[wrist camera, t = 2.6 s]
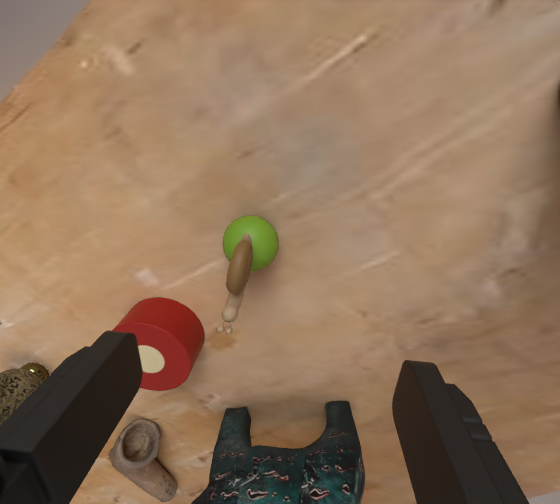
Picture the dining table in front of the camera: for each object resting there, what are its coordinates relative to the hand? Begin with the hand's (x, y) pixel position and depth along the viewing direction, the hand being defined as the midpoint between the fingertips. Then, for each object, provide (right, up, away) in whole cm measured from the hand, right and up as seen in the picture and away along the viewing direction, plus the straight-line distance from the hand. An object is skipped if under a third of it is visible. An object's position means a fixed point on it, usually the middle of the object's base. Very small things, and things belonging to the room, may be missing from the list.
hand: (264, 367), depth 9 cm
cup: (-35, -14, +35) cm, 51 cm away
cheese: (-14, -7, +30) cm, 34 cm away
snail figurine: (-2, +5, +24) cm, 24 cm away
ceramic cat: (+1, -19, +34) cm, 39 cm away
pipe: (-20, -29, +41) cm, 54 cm away
